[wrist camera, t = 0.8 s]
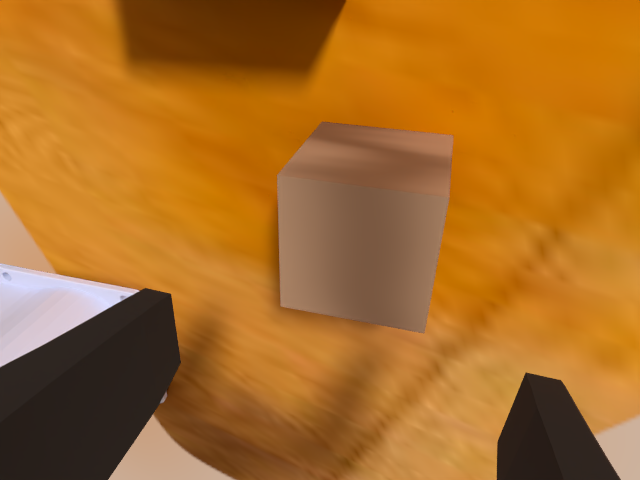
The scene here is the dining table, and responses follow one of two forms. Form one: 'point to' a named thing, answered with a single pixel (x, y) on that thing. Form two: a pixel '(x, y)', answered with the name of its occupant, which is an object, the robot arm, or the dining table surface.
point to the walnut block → (363, 223)
